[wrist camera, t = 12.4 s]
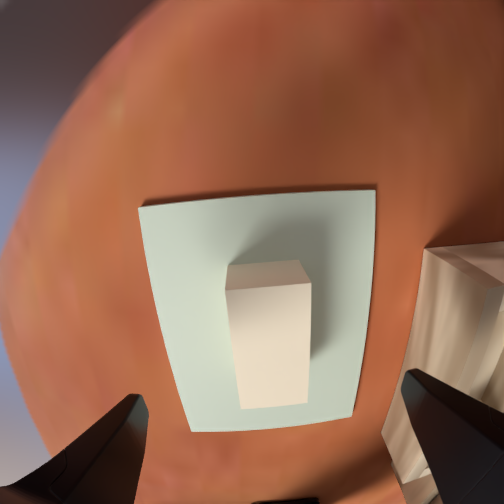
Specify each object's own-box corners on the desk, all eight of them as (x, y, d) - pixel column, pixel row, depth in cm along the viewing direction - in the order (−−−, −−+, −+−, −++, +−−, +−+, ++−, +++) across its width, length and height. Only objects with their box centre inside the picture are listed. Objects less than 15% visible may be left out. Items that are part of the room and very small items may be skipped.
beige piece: (365, 470, 19) (382, 523, 14) (423, 248, 13) (504, 300, 7) (455, 439, 19) (480, 480, 14) (529, 238, 13) (592, 269, 8)
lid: (193, 420, 17) (187, 462, 14) (145, 204, 13) (115, 220, 9) (347, 406, 17) (362, 445, 14) (366, 187, 13) (403, 199, 10)
